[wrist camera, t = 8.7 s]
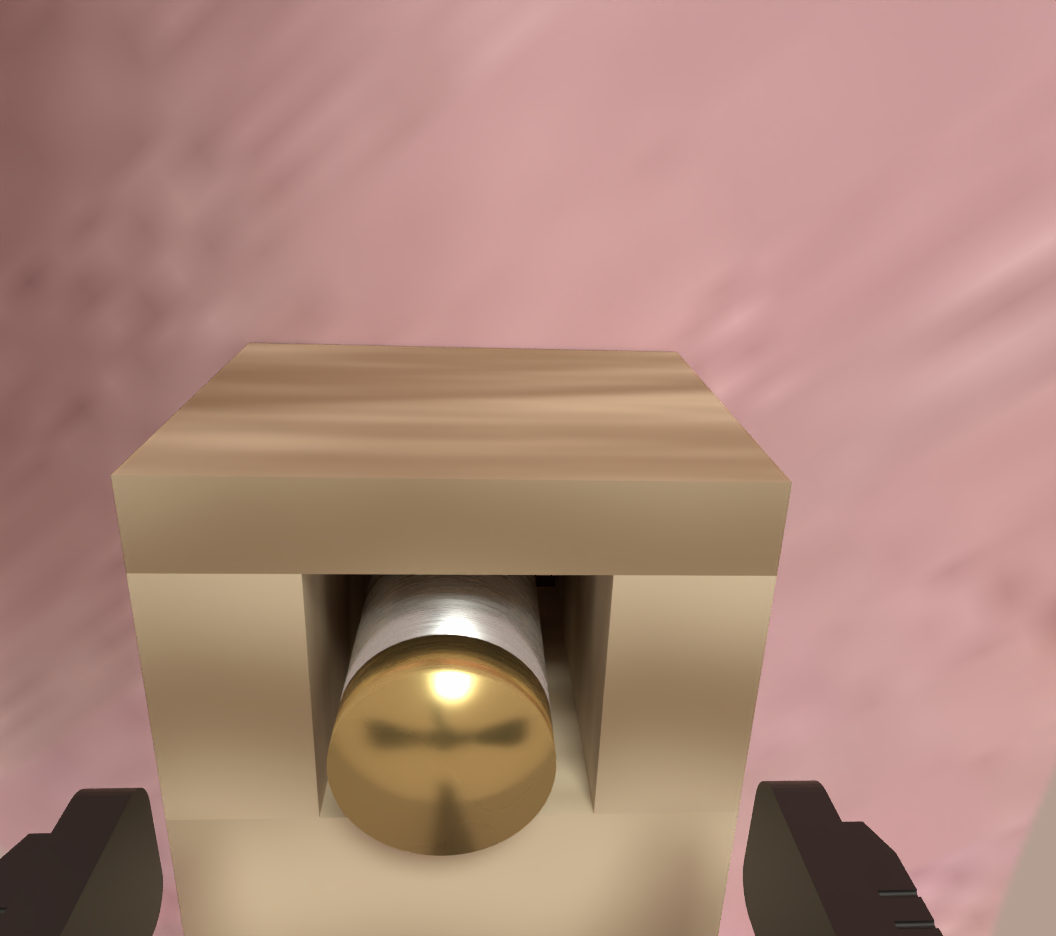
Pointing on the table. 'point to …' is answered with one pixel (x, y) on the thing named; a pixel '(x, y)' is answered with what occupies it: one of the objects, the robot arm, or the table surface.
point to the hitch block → (452, 549)
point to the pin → (444, 714)
